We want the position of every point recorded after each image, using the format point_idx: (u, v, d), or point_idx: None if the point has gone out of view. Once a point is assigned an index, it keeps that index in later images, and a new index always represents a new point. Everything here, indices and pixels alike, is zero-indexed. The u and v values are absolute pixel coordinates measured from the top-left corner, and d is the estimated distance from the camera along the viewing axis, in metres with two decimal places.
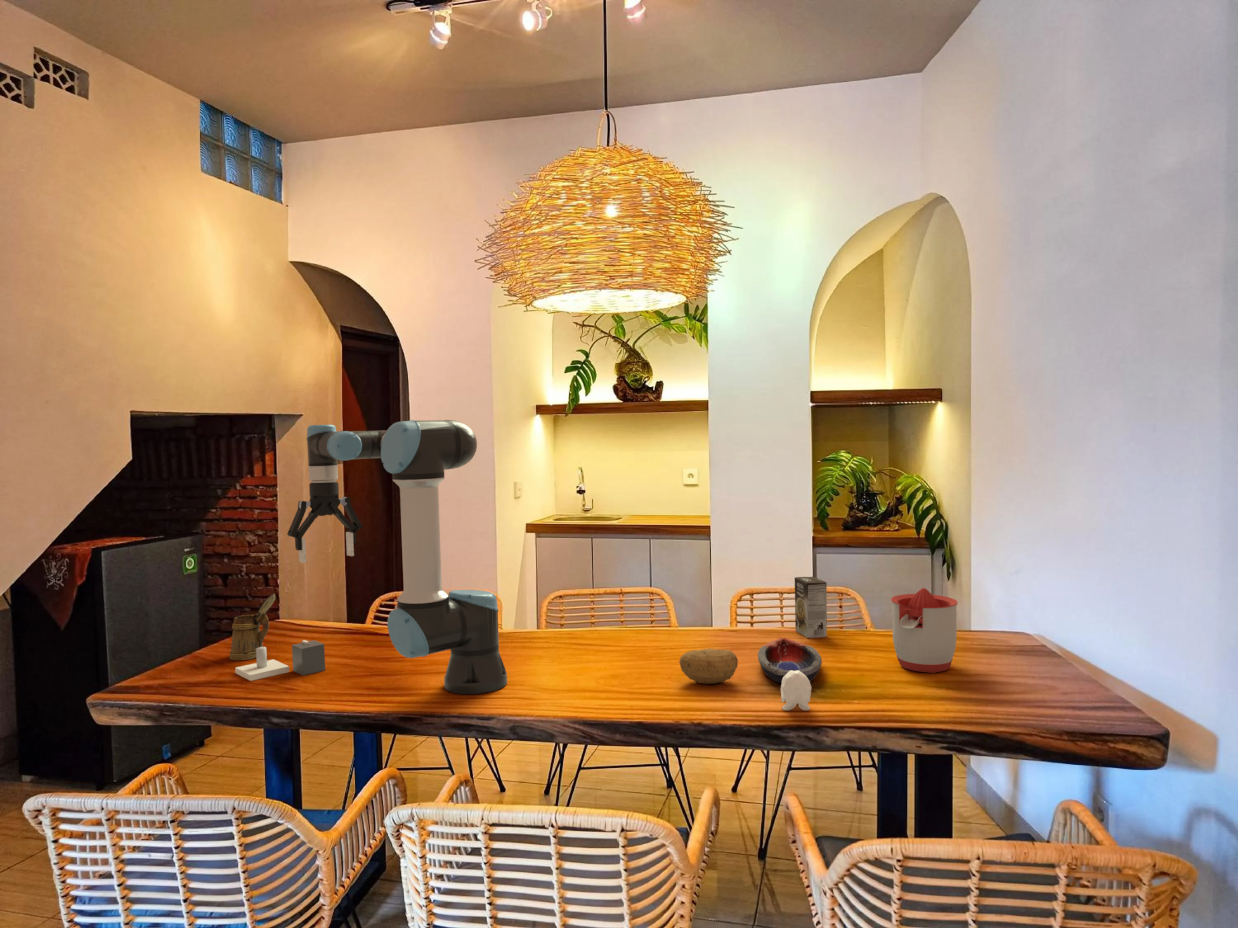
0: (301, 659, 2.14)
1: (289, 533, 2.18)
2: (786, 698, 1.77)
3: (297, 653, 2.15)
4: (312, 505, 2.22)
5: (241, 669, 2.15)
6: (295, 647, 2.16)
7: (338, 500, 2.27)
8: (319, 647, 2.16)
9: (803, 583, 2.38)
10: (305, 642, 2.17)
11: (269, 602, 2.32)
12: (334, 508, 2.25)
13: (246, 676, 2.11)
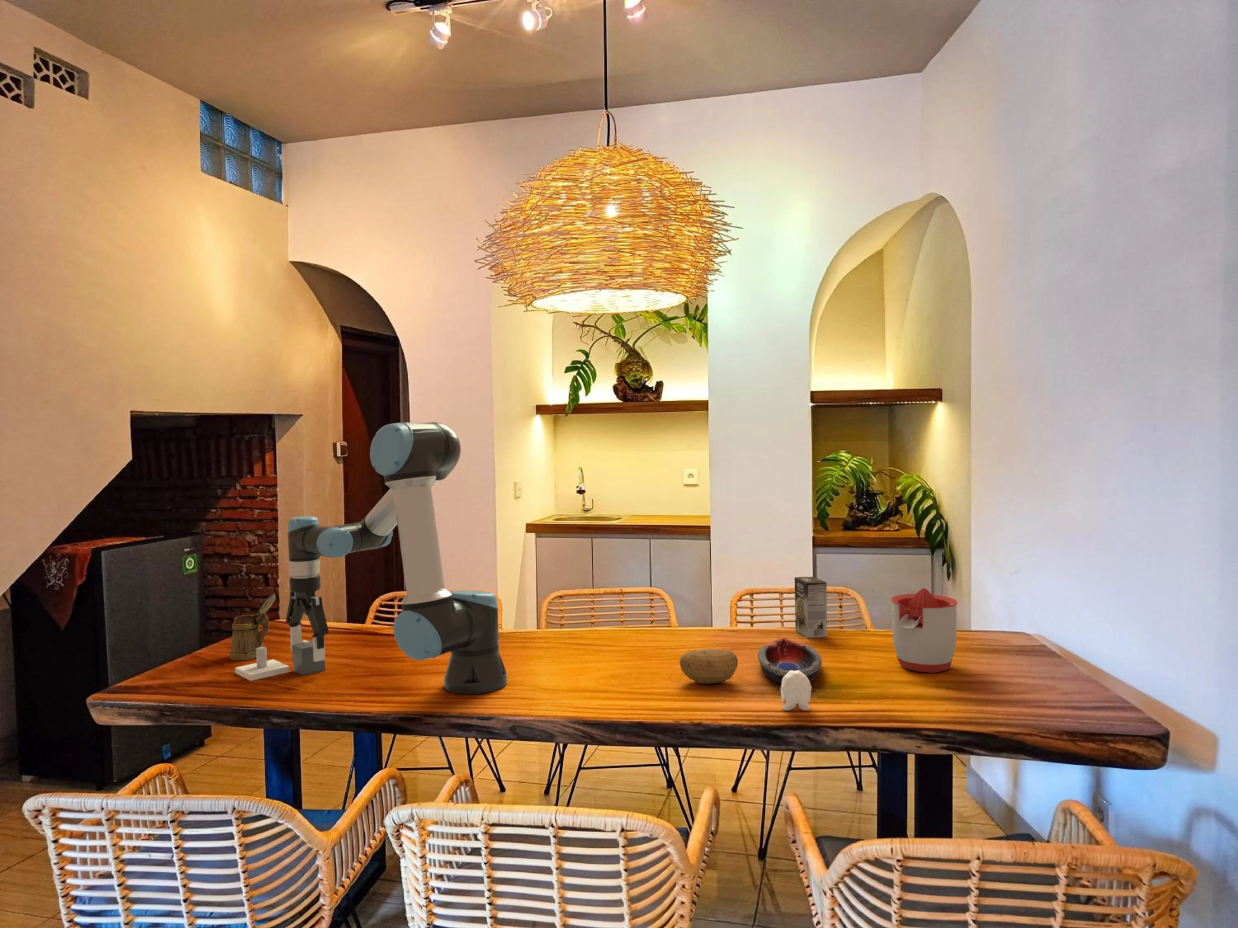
0: (301, 659, 2.14)
1: None
2: (786, 698, 1.77)
3: (297, 653, 2.15)
4: None
5: (241, 669, 2.15)
6: (295, 647, 2.16)
7: (307, 598, 2.13)
8: None
9: (803, 583, 2.38)
10: (305, 642, 2.17)
11: (269, 602, 2.32)
12: (302, 606, 2.14)
13: (246, 676, 2.11)
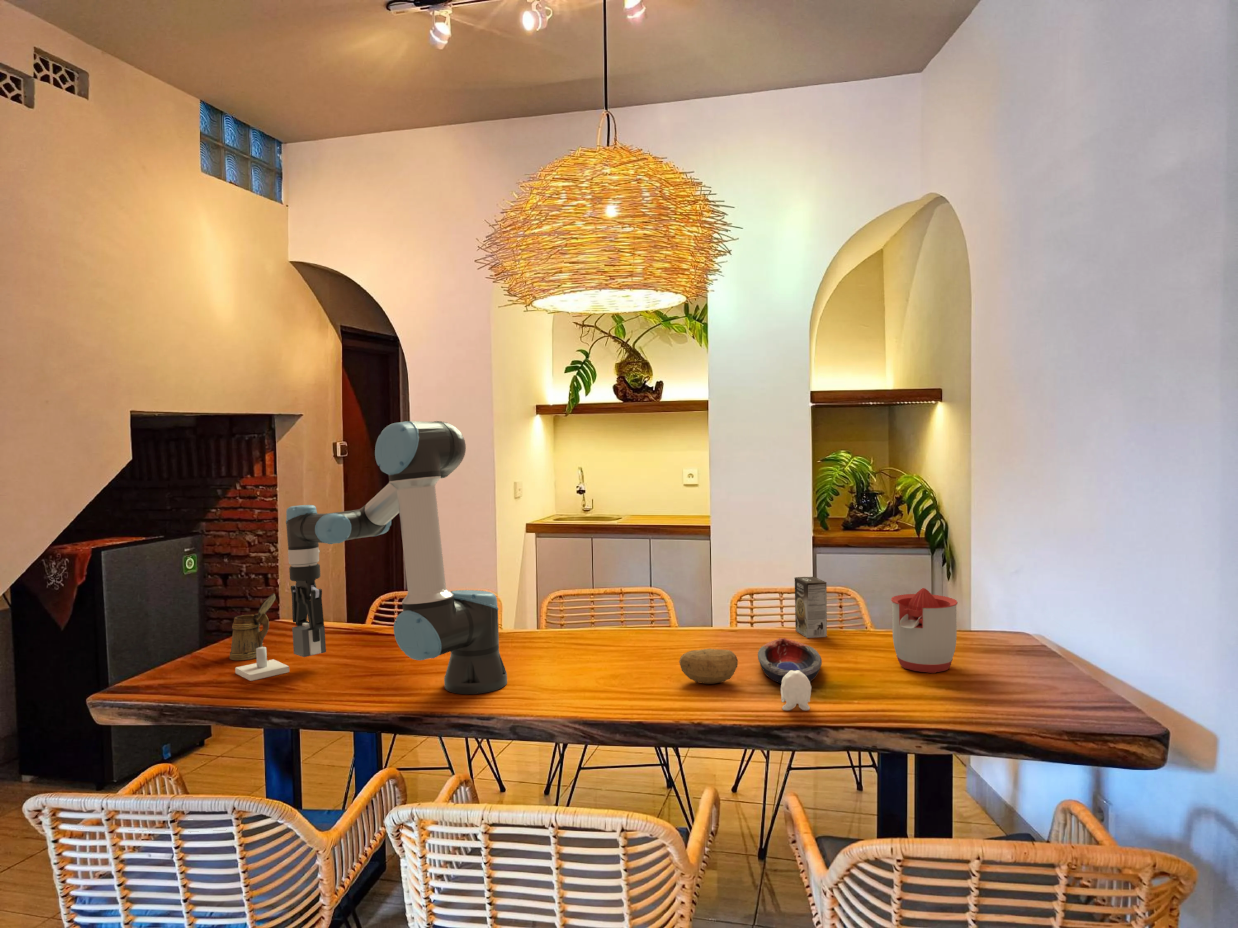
0: (301, 641, 2.13)
1: None
2: (786, 698, 1.77)
3: (297, 635, 2.14)
4: None
5: (241, 669, 2.15)
6: (295, 629, 2.15)
7: (307, 587, 2.13)
8: None
9: (803, 583, 2.38)
10: (305, 624, 2.17)
11: (269, 602, 2.32)
12: (302, 594, 2.14)
13: (246, 676, 2.11)
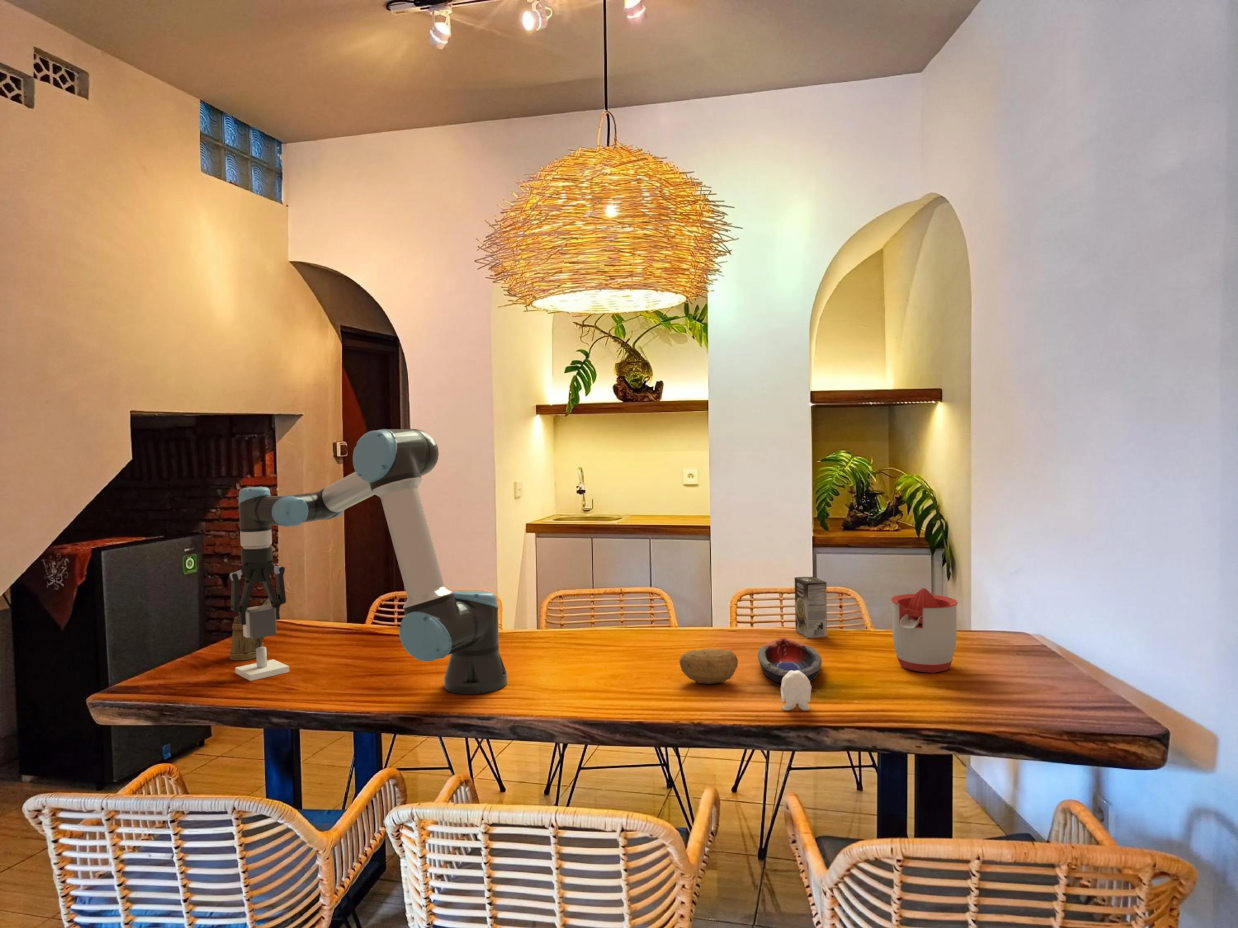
0: (273, 619, 2.16)
1: (232, 608, 2.11)
2: (786, 698, 1.77)
3: (264, 616, 2.14)
4: (244, 573, 2.12)
5: (241, 669, 2.15)
6: (260, 612, 2.13)
7: (272, 566, 2.17)
8: None
9: (803, 583, 2.38)
10: (257, 607, 2.15)
11: (269, 602, 2.32)
12: (265, 575, 2.15)
13: (246, 676, 2.11)
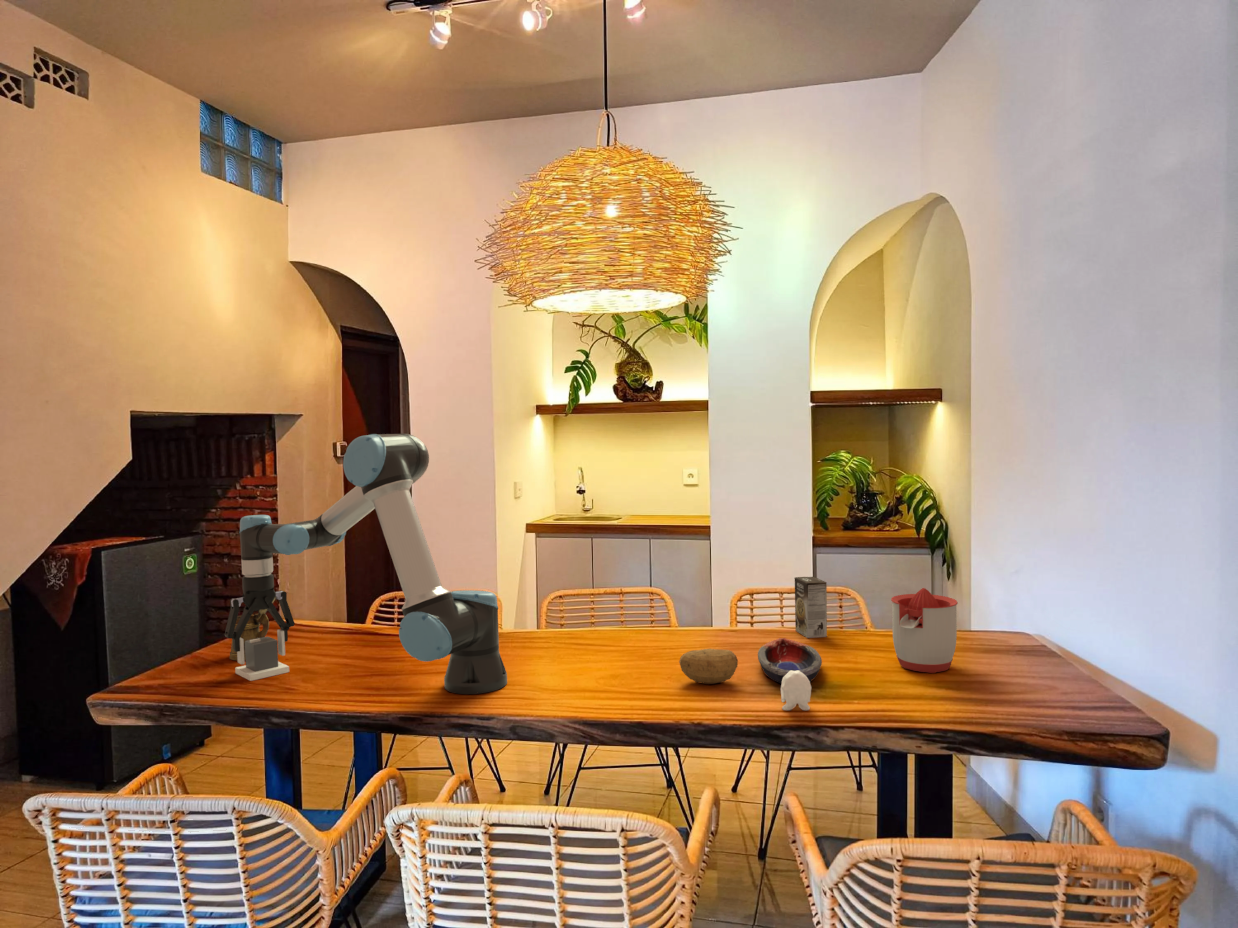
0: (275, 651, 2.16)
1: (226, 635, 2.10)
2: (786, 698, 1.77)
3: (266, 648, 2.15)
4: (245, 601, 2.13)
5: (241, 669, 2.15)
6: (262, 644, 2.14)
7: (273, 593, 2.18)
8: None
9: (803, 583, 2.38)
10: (259, 639, 2.16)
11: None
12: (268, 603, 2.16)
13: (246, 676, 2.11)
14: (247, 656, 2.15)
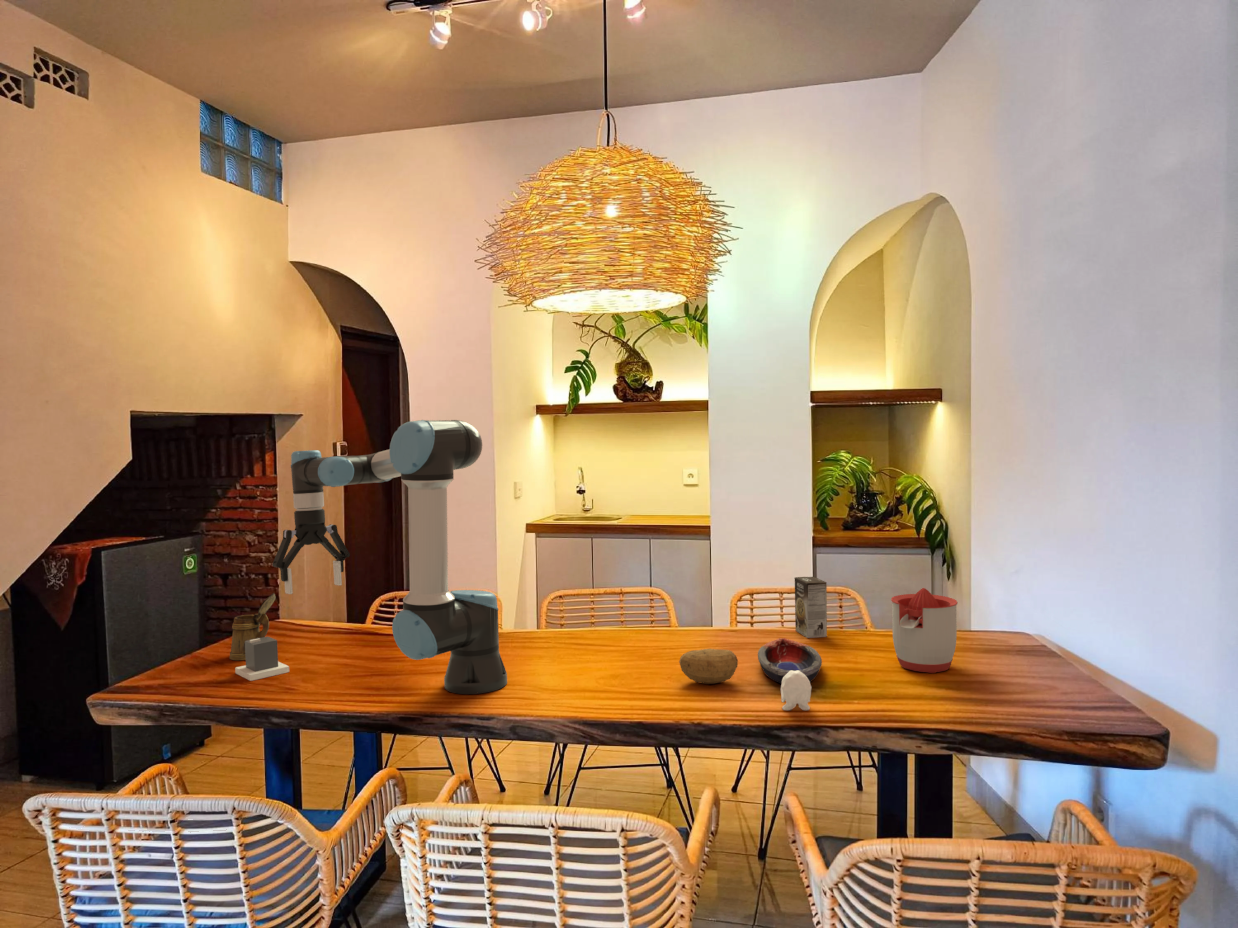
0: (275, 651, 2.16)
1: (274, 564, 2.10)
2: (786, 698, 1.77)
3: (266, 648, 2.15)
4: (298, 534, 2.14)
5: (241, 669, 2.15)
6: (262, 644, 2.14)
7: (324, 528, 2.19)
8: None
9: (803, 583, 2.38)
10: (259, 639, 2.16)
11: (269, 602, 2.32)
12: (320, 536, 2.18)
13: (246, 676, 2.11)
14: (247, 656, 2.15)
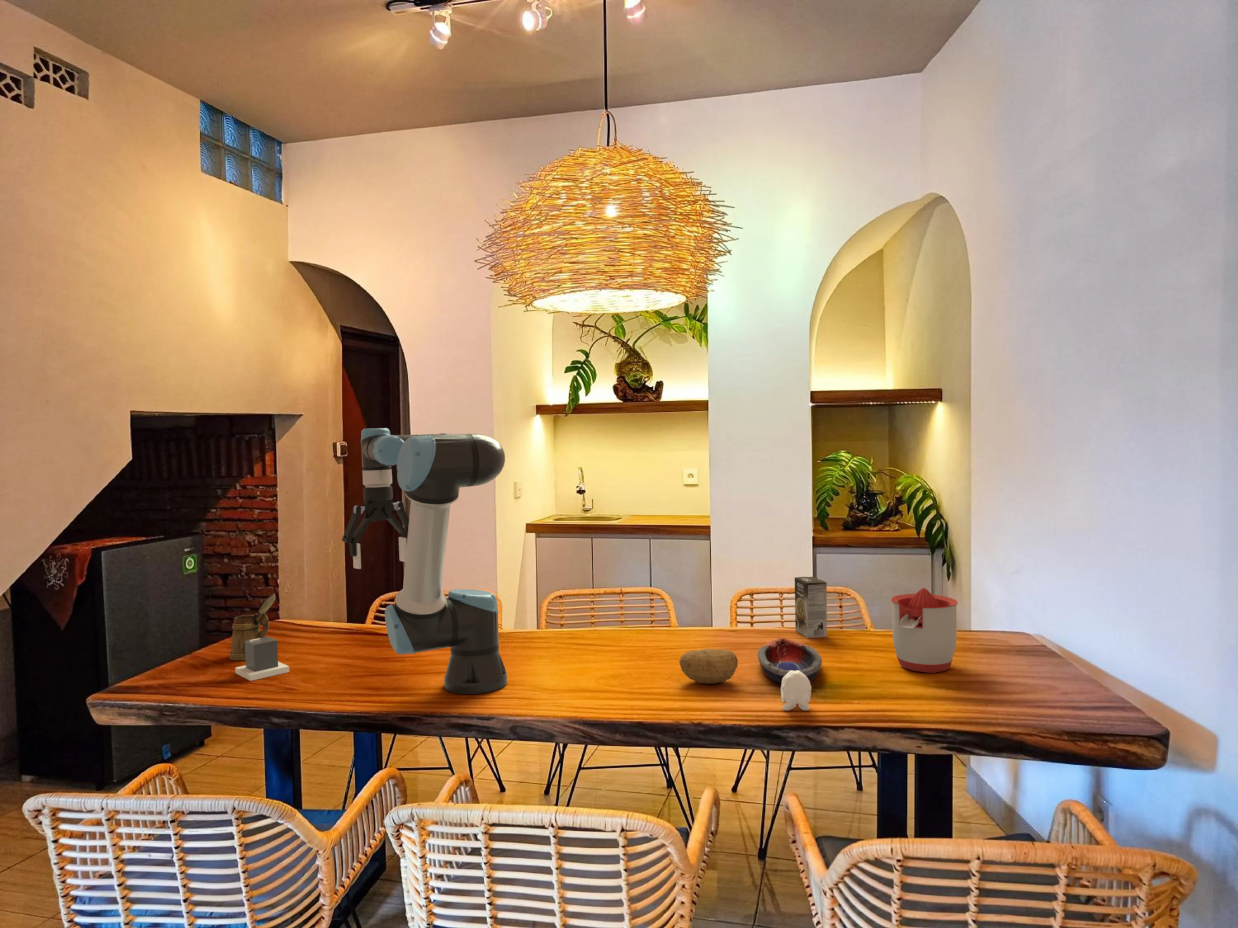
0: (275, 651, 2.16)
1: (344, 539, 2.14)
2: (786, 698, 1.77)
3: (266, 648, 2.15)
4: (366, 510, 2.18)
5: (241, 669, 2.15)
6: (262, 644, 2.14)
7: (392, 505, 2.23)
8: None
9: (803, 583, 2.38)
10: (259, 639, 2.16)
11: (269, 602, 2.32)
12: (388, 513, 2.21)
13: (246, 676, 2.11)
14: (247, 656, 2.15)
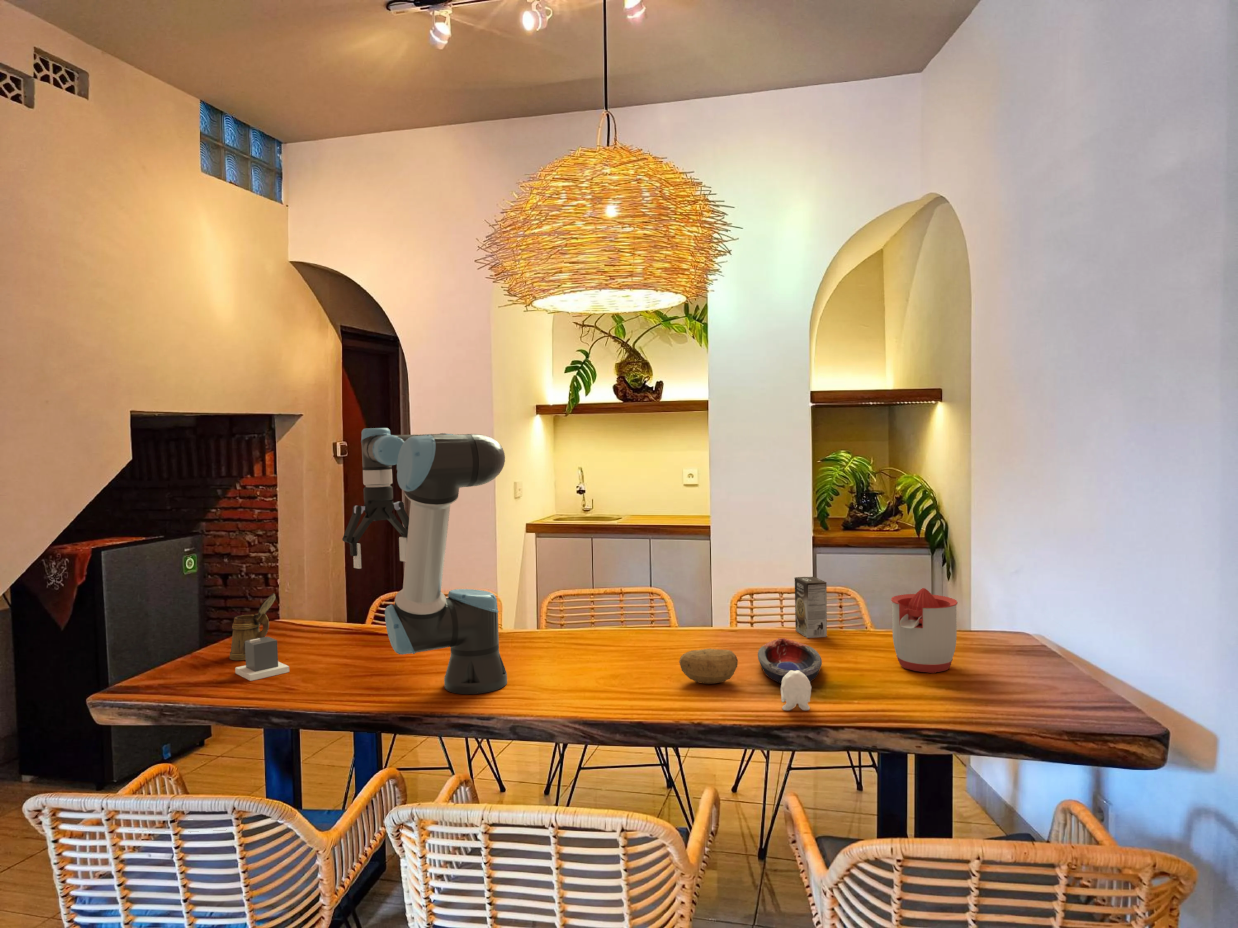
0: (275, 651, 2.16)
1: (344, 538, 2.14)
2: (786, 698, 1.77)
3: (266, 648, 2.15)
4: (367, 510, 2.18)
5: (241, 669, 2.15)
6: (262, 644, 2.14)
7: (392, 505, 2.23)
8: None
9: (803, 583, 2.38)
10: (259, 639, 2.16)
11: (269, 602, 2.32)
12: (388, 513, 2.21)
13: (246, 676, 2.11)
14: (247, 656, 2.15)
